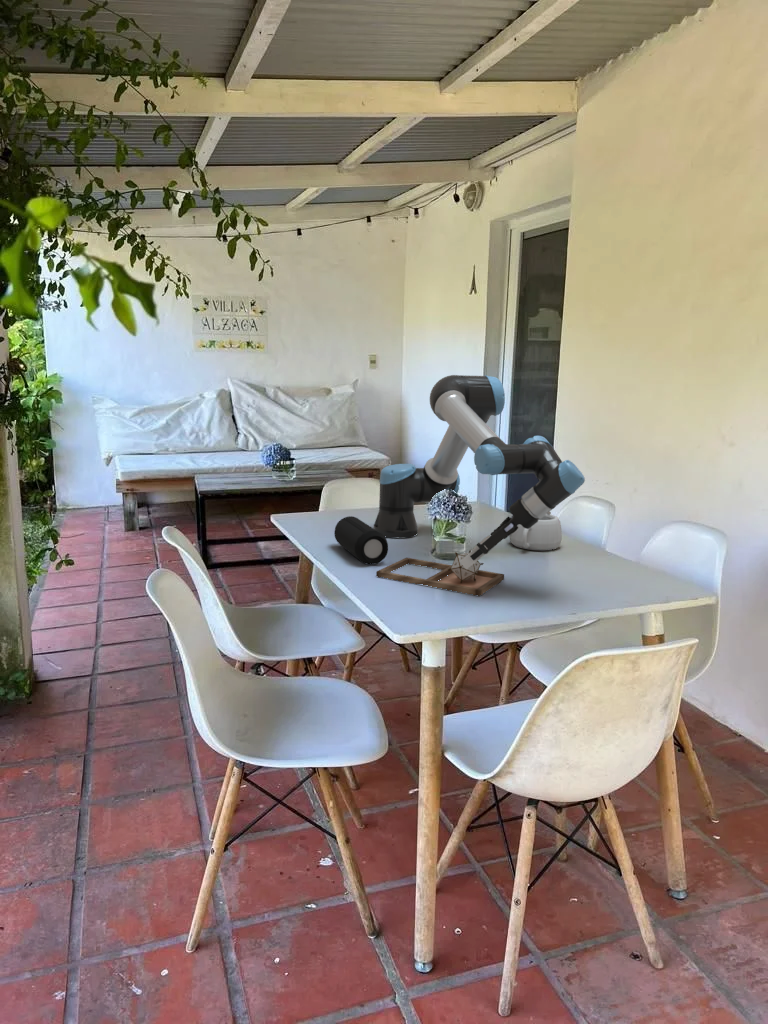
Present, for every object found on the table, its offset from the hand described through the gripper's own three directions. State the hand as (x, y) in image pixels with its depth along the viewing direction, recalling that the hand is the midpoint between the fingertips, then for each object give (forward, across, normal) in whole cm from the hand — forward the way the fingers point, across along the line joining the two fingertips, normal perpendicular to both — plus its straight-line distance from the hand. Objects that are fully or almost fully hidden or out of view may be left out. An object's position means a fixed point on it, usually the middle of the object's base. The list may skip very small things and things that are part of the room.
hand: (469, 559), depth 199 cm
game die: (+5, +1, -4) cm, 7 cm away
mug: (-2, +49, -12) cm, 51 cm away
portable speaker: (+31, +15, +21) cm, 40 cm away
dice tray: (+10, +2, +1) cm, 11 cm away
